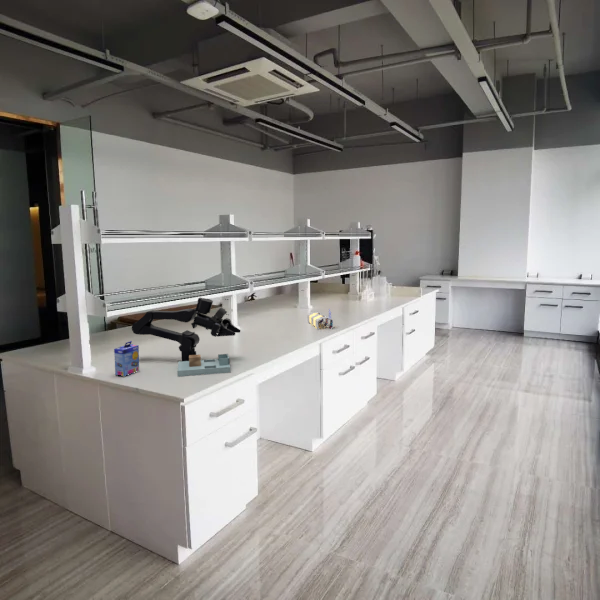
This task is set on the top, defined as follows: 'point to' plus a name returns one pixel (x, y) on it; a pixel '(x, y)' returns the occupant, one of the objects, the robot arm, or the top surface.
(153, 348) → the top surface
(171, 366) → the top surface
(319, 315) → the diorama
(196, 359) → the walnut block
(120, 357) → the ink cartridge box
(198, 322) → the robot arm
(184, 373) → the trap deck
